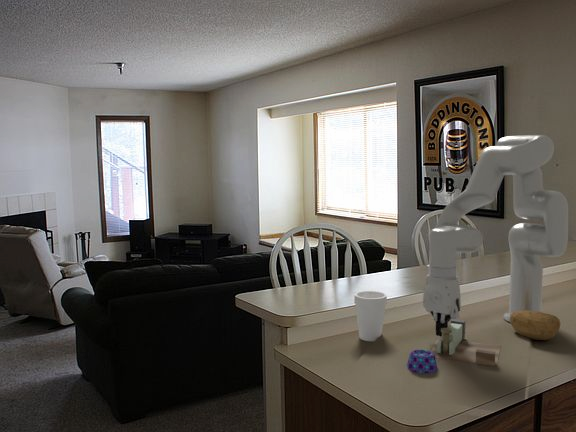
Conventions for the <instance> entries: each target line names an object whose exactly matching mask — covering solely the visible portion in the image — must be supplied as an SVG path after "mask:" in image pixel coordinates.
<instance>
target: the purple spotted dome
mask: <svg viewBox="0 0 576 432" xmlns="http://www.w3.org/2000/svg"><path fill="white" fill-rule="evenodd" d="M406 368H407V370H409V371H412V372H413V373H417V374H419V373H422V374H430V373H436V372H437V370H438V369H439V368H438V364H437V358H435V355H434V354H433V353H432V352H431V350H426V349H415V350H412V351H411V352H409V357H408V360H407V363H406Z"/></svg>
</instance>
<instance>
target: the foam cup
mask: <svg viewBox="0 0 576 432" xmlns="http://www.w3.org/2000/svg"><path fill="white" fill-rule="evenodd" d="M353 296H354V297H353V298H354V305H355V312H356V321H357V330H358V335H359V339H360V340H363V341H366V342H376V341H377V340H378V338H379V337H381V336H382V333H383V327H384V319H385V311H386V306H387V303H388V300H387V299H388V298H387V297H388V295H387V293H385V292H382V291H376V290H363V291H362V290H361V291H357V292H355V293H354V295H353Z"/></svg>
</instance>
